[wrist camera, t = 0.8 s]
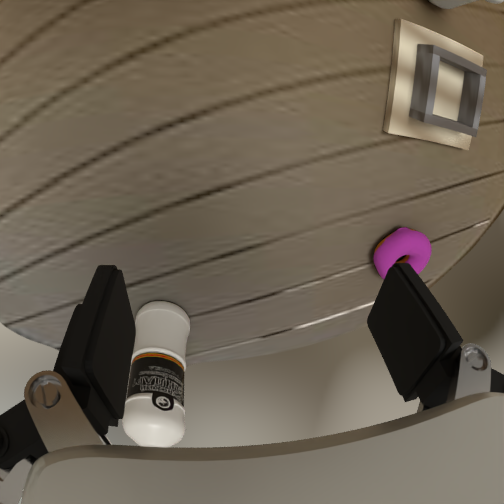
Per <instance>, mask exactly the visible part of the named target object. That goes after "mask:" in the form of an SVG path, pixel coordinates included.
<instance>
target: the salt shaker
mask: <svg viewBox="0 0 504 504" xmlns="http://www.w3.org/2000/svg"><path fill="white" fill-rule="evenodd" d="M428 1H430V2H431V3H432V4H434V5H436V6H438V7H440V8H445V9H452V8H455V7H458V6H461V5H464V4H467V3H471V2H474V1H477V0H428ZM486 1H487V2H490V3H496V4H498V3H502V2H503V1H504V0H486Z"/></svg>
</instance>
